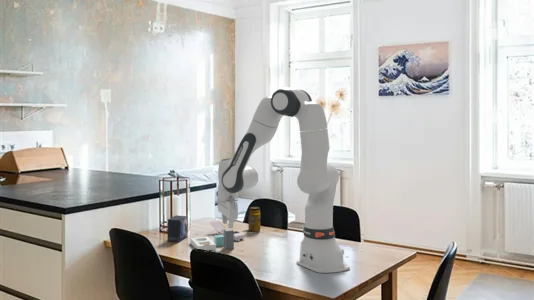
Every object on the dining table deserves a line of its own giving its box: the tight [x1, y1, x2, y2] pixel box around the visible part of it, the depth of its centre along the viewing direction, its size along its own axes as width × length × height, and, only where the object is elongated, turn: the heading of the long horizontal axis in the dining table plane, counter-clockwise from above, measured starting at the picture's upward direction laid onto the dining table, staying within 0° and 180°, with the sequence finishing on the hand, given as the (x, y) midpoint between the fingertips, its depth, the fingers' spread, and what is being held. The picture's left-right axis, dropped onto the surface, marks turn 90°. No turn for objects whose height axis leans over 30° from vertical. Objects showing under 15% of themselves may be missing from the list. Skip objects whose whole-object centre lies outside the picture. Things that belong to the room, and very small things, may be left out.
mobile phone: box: [209, 220, 245, 242], centre depth 255 cm, size 6×6×25 cm
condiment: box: [242, 206, 264, 234], centre depth 266 cm, size 7×8×12 cm
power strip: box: [190, 236, 217, 251], centre depth 235 cm, size 16×8×3 cm, turn 20°
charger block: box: [223, 228, 235, 250], centre depth 232 cm, size 4×4×8 cm
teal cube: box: [213, 234, 224, 247], centre depth 239 cm, size 4×4×4 cm
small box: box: [167, 214, 188, 243], centre depth 249 cm, size 11×6×10 cm, turn 168°
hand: (227, 225), depth 232 cm, fingers open, 8 cm apart
